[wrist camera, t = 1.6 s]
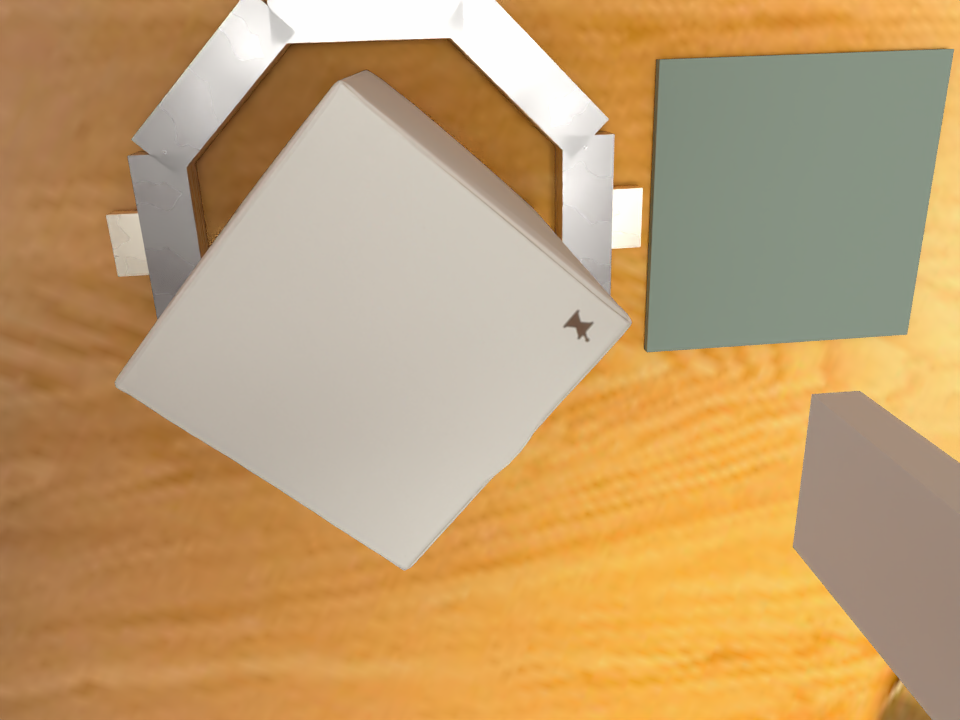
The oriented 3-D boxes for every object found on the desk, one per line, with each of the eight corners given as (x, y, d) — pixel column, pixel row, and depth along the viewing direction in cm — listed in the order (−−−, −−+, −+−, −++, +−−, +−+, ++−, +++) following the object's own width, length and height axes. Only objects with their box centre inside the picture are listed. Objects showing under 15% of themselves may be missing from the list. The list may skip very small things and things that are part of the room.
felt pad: (644, 349, 35) (647, 352, 35) (656, 59, 31) (659, 59, 31) (901, 331, 36) (906, 334, 36) (947, 48, 32) (953, 48, 32)
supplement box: (364, 59, 30) (342, 58, 16) (539, 210, 33) (650, 322, 19) (224, 244, 32) (96, 387, 18) (401, 373, 35) (409, 584, 21)
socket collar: (158, 446, 35) (148, 463, 33) (69, -10, 28) (52, -14, 27) (628, 412, 36) (638, 425, 35) (644, -26, 30) (656, -30, 29)
